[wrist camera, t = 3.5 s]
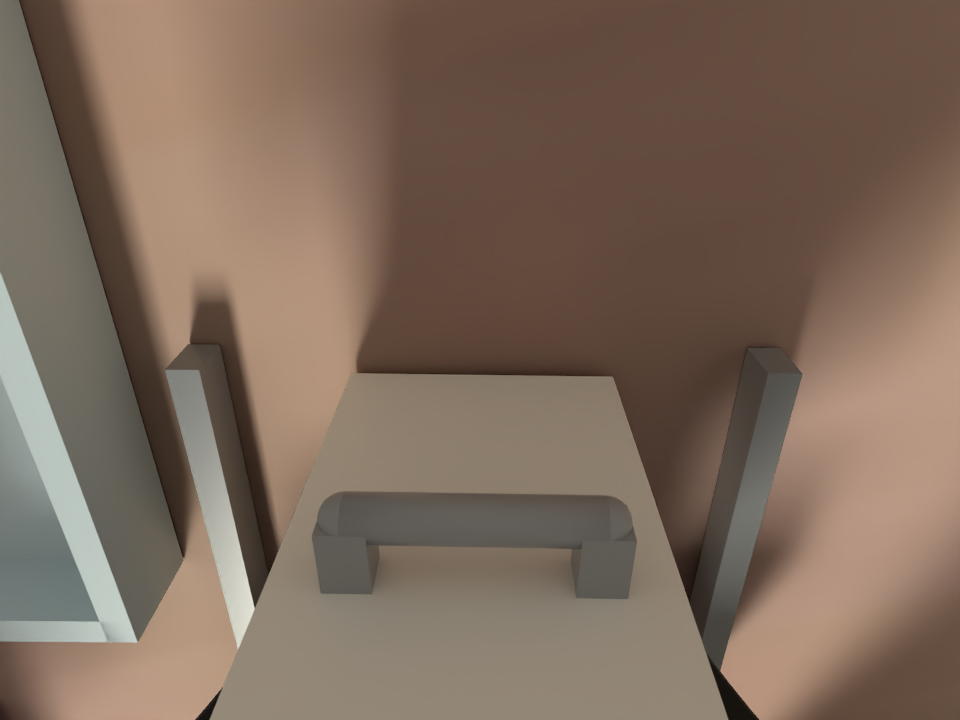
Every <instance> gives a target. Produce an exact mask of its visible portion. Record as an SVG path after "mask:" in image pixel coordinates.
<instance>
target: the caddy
mask: <svg viewBox="0 0 960 720" xmlns="http://www.w3.org/2000/svg"><path fill="white" fill-rule="evenodd" d="M210 720H728V717H727V714H726V711H725V708H724V705H723V702H722V699H721V696H720V693H719V690H718V687H717V684H716V681H715V678H714V675H713V672H712V669H711V666H710V663H709V660H708V657H707V654H706V651H705V649H704V646H703V643H702V640H701V637H700V634H699V631H698V628H697V625H696V622H695V619H694V616H693V613H692V610H691V607H690V604H689V601H688V598H687V595H686V592H685V589H684V586H683V583H682V580H681V577H680V574H679V571H678V568H677V565H676V562H675V559H674V557H673V554H672V551H671V548H670V545H669V542H668V539H667V536H666V533H665V530H664V527H663V524H662V521H661V518H660V515H659V512H658V509H657V506H656V503H655V500H654V497H653V494H652V491H651V488H650V485H649V482H648V479H647V476H646V473H645V470H644V467H643V464H642V462H641V459H640V456H639V453H638V450H637V447H636V444H635V441H634V438H633V435H632V432H631V429H630V426H629V423H628V420H627V417H626V414H625V411H624V408H623V405H622V402H621V399H620V396H619V393H618V390H617V387H616V384H615V381H614V378H613V377H602V376H524V375H447V374H369V373H351V375H350V377H349V379H348V382H347V384H346V387H345V389H344V392H343V394H342V397H341V399H340V402H339V404H338V406H337V409H336V411H335V414H334V416H333V419H332V421H331V424H330V426H329V428H328V431H327V433H326V436H325V438H324V441H323V443H322V446H321V448H320V451H319V453H318V455H317V458H316V460H315V463H314V465H313V468H312V470H311V473H310V475H309V477H308V480H307V482H306V485H305V487H304V490H303V492H302V495H301V497H300V499H299V502H298V504H297V507H296V509H295V512H294V514H293V517H292V519H291V522H290V524H289V526H288V529H287V531H286V534H285V536H284V539H283V541H282V544H281V546H280V548H279V551H278V553H277V556H276V558H275V561H274V563H273V566H272V568H271V571H270V573H269V575H268V578H267V580H266V583H265V585H264V588H263V590H262V593H261V595H260V597H259V600H258V602H257V605H256V607H255V610H254V612H253V615H252V617H251V619H250V622H249V624H248V627H247V629H246V632H245V634H244V637H243V639H242V642H241V644H240V646H239V649H238V651H237V654H236V656H235V659H234V661H233V664H232V666H231V668H230V671H229V673H228V676H227V678H226V681H225V683H224V686H223V688H222V691H221V693H220V695H219V698H218V700H217V703H216V705H215V708H214V710H213V713H212V715H211V717H210Z"/></svg>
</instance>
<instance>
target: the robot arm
mask: <svg viewBox="0 0 960 720" xmlns="http://www.w3.org/2000/svg"><path fill="white" fill-rule="evenodd" d="M706 654H707V653H706ZM707 657H708V660H709V663H710V666H711V669H712V672H713V675H714V678H715V681H716V684H717V687H718V690H719V693H720V696H721V699H722V702H723V705H724V708H725V711H726V714H727V717H728V720H759V719H758V718H757V717H756V715H755V714H754V713H753V712H752V711H751V709H750V708H749V707H748V706H747V705H746V703H745V702H744V701H743V700H742V698H741V697H740V696H739V695H738V693H737V692H736V691H735V690H734V689H733V687H732V686H731V685H730V684H729V682H728V681H727V680H726V678H725V677H724V676H723V674H722V673H721V672H720V671H719V669H718V668H717V667H716V665H715V664H714V663H713V661H712V660H711V659H710V657H709V656H708V654H707ZM222 688H223V687H222ZM221 691H222V689H221V690H220V691H219V692H218V694H217V695H216V696H215V697H214V698H213V700H212V701H211V702H210V703H209V704H208V706H207V707H206V708H205V709H204V710H203V711H202V713H201V714H200V715H199V716H198V717H197V718H196V719H195V720H210V717H211V715H212V713H213V710H214V708H215V705H216V703H217V700H218V698H219V695H220V693H221Z"/></svg>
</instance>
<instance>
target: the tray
mask: <svg viewBox="0 0 960 720" xmlns="http://www.w3.org/2000/svg"><path fill="white" fill-rule="evenodd" d="M182 562H183V557H182V554H181V550H180V547H179V543H178V540H177V537H176V533H175V530H174V526H173V523H172V520H171V516H170V513H169V509H168V506H167V503H166V499H165V496H164V492H163V489H162V486H161V482H160V479H159V475H158V472H157V469H156V465H155V462H154V458H153V455H152V452H151V448H150V445H149V441H148V438H147V435H146V431H145V428H144V424H143V421H142V417H141V414H140V411H139V407H138V404H137V400H136V397H135V394H134V390H133V387H132V383H131V380H130V377H129V373H128V370H127V366H126V363H125V360H124V356H123V353H122V349H121V346H120V343H119V339H118V336H117V332H116V329H115V326H114V322H113V319H112V315H111V312H110V309H109V305H108V302H107V298H106V295H105V292H104V288H103V285H102V281H101V278H100V275H99V271H98V268H97V264H96V261H95V258H94V254H93V251H92V247H91V244H90V241H89V237H88V234H87V230H86V227H85V224H84V220H83V217H82V213H81V210H80V207H79V203H78V200H77V196H76V193H75V190H74V186H73V183H72V179H71V176H70V173H69V169H68V166H67V162H66V159H65V156H64V152H63V149H62V145H61V142H60V139H59V135H58V132H57V128H56V125H55V122H54V118H53V115H52V111H51V108H50V105H49V101H48V98H47V94H46V91H45V88H44V84H43V81H42V77H41V74H40V71H39V67H38V64H37V60H36V57H35V54H34V50H33V47H32V43H31V40H30V37H29V33H28V30H27V26H26V23H25V20H24V16H23V13H22V9H21V6H20V3H19V0H0V641H6V642H138V641H139V639H140V637H141V636H142V634H143V632H144V630H145V629H146V627H147V625H148V623H149V621H150V620H151V618H152V616H153V614H154V612H155V611H156V609H157V607H158V605H159V603H160V602H161V600H162V598H163V596H164V594H165V593H166V591H167V589H168V587H169V586H170V584H171V582H172V580H173V578H174V577H175V575H176V573H177V571H178V569H179V568H180V566H181V564H182Z"/></svg>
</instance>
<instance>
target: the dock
mask: <svg viewBox="0 0 960 720" xmlns="http://www.w3.org/2000/svg"><path fill="white" fill-rule="evenodd" d="M165 372H166V376H167V380H168V384H169V388H170V391H171V395H172V399H173V403H174V407H175V410H176V414H177V418H178V422H179V426H180V430H181V433H182V437H183V441H184V445H185V449H186V452H187V456H188V460H189V464H190V468H191V471H192V475H193V479H194V483H195V487H196V491H197V494H198V498H199V502H200V506H201V510H202V513H203V517H204V521H205V525H206V529H207V532H208V536H209V540H210V544H211V548H212V552H213V555H214V559H215V563H216V567H217V571H218V574H219V578H220V582H221V586H222V590H223V593H224V597H225V601H226V605H227V609H228V612H229V616H230V620H231V624H232V628H233V632H234V635H235V639H236V643H237V647H238V649H239V646H240V644H241V642H242V639H243V637H244V634H245V632H246V629H247V627H248V624H249V622H250V619H251V617H252V615H253V612H254V610H255V607H256V605H257V602H258V600H259V597H260V595H261V593H262V590H263V588H264V585H265V583H266V580H267V578H268V570H267V566H266V561H265V556H264V551H263V547H262V542H261V537H260V532H259V528H258V523H257V518H256V513H255V509H254V504H253V499H252V495H251V490H250V485H249V480H248V476H247V471H246V466H245V461H244V457H243V452H242V447H241V443H240V438H239V433H238V428H237V424H236V419H235V414H234V409H233V405H232V400H231V395H230V390H229V386H228V381H227V376H226V372H225V367H224V362H223V357H222V353H221V348H220V345H219V344H188V345H187V346H186V347H185V348H184V349H183V351H182V352H181V353H180V354H179V355H178V356H177V357H176V358H175V359H174V360H173V361H172V363H171V364H170V365H169V366H168V367H167V368H166V369H165ZM801 377H802V373H801V371H800V370H799V369H798V368H797V367H796V366H795V365H794V364H793V363H792V361H791V360H790V359H789V358H788V357H787V356H786V355H785V354H784V353H783V352H782V350H781V349H780V348H747V351H746V356H745V360H744V365H743V369H742V373H741V378H740V382H739V387H738V391H737V396H736V400H735V404H734V409H733V413H732V418H731V422H730V427H729V431H728V435H727V440H726V444H725V449H724V453H723V457H722V462H721V466H720V471H719V475H718V480H717V484H716V488H715V493H714V497H713V502H712V506H711V511H710V515H709V519H708V524H707V528H706V533H705V537H704V542H703V546H702V550H701V555H700V559H699V564H698V568H697V572H696V577H695V581H694V586H693V590H692V595H691V599H690V603H689V604H690V607H691V610H692V613H693V616H694V619H695V622H696V625H697V628H698V631H699V634H700V637H701V640H702V643H703V646H704V649H705V651H706V653H707V654H708V656H709V657H710V659H711V660H712V661H713V663H714V664H715V665H716V667H717V668H718V669H719V671H720V669H721V665H722V661H723V658H724V654H725V651H726V647H727V643H728V640H729V636H730V633H731V629H732V625H733V622H734V618H735V615H736V611H737V607H738V604H739V600H740V597H741V593H742V589H743V586H744V582H745V579H746V575H747V572H748V568H749V564H750V561H751V557H752V554H753V550H754V546H755V543H756V539H757V536H758V532H759V528H760V525H761V521H762V518H763V514H764V510H765V507H766V503H767V500H768V496H769V492H770V489H771V485H772V482H773V478H774V474H775V471H776V467H777V464H778V460H779V456H780V453H781V449H782V446H783V442H784V438H785V435H786V431H787V428H788V424H789V420H790V417H791V413H792V410H793V406H794V402H795V399H796V395H797V392H798V388H799V384H800V381H801Z"/></svg>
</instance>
